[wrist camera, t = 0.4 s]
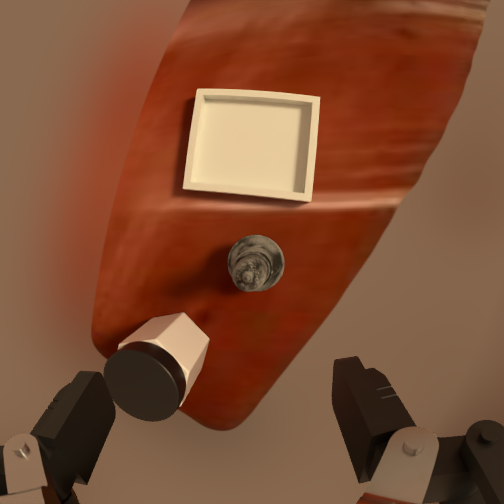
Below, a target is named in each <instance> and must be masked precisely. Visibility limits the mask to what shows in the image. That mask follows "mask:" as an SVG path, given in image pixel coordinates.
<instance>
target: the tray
mask: <svg viewBox="0 0 504 504" xmlns="http://www.w3.org/2000/svg"><path fill="white" fill-rule="evenodd" d="M319 106H320V97H315V96H308V95H299V94H290V93H280V92H268V91H254V90H235V89H197V93H196V99H195V105H194V111H193V117H192V124H191V130H190V137H189V144H188V152H187V159H186V167H185V175H184V183H183V189H185V190H192V191H204V192H216V193H227V194H237V195H247V196H257V197H266V198H275V199H284V200H292V201H301V202H309V203H310V202H311V198H312V188H313V178H314V168H315V157H316V146H317V134H318V121H319Z"/></svg>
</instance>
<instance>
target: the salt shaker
mask: <svg viewBox="0 0 504 504" xmlns="http://www.w3.org/2000/svg"><path fill="white" fill-rule="evenodd" d="M228 270H229V274H230V275H231V277H232V279H233V282H234V284H235V285H236V286H237V287H238V288H239V289H240V290H242V291H246V292H251V291H263V290H267V289H268V288H270V287H272V286H274V285H275V284H276V283H277V282H278V281H279V279H280V277H281V276H282V273H283V270H284V257H283V253H282V251H281V249H280V248H279V246H278V245H277V244H276V243H275V242H274V241H273V240H271V239H269V238H268V237H265V236H262V235H250V236H246V237H244V238H242V239H240V240H238V241H237V242H236V243H235V244H234V245H233V247H232V249H231V250H230V252H229V256H228Z"/></svg>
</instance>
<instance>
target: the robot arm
mask: <svg viewBox="0 0 504 504" xmlns="http://www.w3.org/2000/svg"><path fill="white" fill-rule="evenodd" d="M332 405H333V409H334V413H335V415H336V419H337V421H338V424H339V427H340V430H341V433H342V436H343V438H344V441H345V444H346V447H347V450H348V453H349V456H350V459H351V462H352V465H353V468H354V471H355V474H356V476H357V479H358V482H359V483H364V482H367V481H370V483H369V485H368V487H367V489H366V491H365V493H364V494H363V496H362V497H360V499H359V500H358V502H357V503H356V504H422V503H423V504H424V503H434V502H439V504H504V427H503V426H502V425H501V424H499V423H497V422H495V421H492V420H482V421H478V422H476V423H474V424H473V425H471V427H470V428H469V429H468V431H467V433H466V435H463V436H455V437H445V438H439V437H436V436H435V435H434V433H432V432H431V431H429V430H428V429H425V428H422V427H417V426H416V425H415V423H414V421H413V420H412V418H411V416H410V415H409V413H408V411H407V410H406V408H405V407H404V405H403V403H402V402H401V400H400V398H399V397H398V396H397V395H396V392H395V391H394V389H393V388H392V387H391V384H390V383H389V381H388V379H387V378H386V376H385V375H384V374H382V373H381V372H379V371H378V370H376V369H375V368H369V369H365V368H364V366H363V365H362V363H361V361H360V359H359V358H358V357H357V356H354V357H349V358H342V359H336V360H335V361H334V367H333V383H332ZM115 412H116V411H115V405H114V403H113V400H112V397H111V395H110V393H109V390H108V388H107V385H106V383H105V380H104V378H103V376H102V374H101V373H100V372H92V371H80V372H79V373H78V374H77V375H76V377H75V378H74V379H73V381H72V382H71V383H69V384H68V385H66V386H65V387H64V388H62V389H61V390H60V391H59V392H58V393H57V395H56V396H55V398H54V399H53V402H51V403H50V405H49V406H48V409H46V410H45V412H44V414H43V415H42V417H41V418H40V419H39V421H38V422H37V424H36V425H35V427H34V428H33V430H32V431H31V433H30V434H19V435H16V436H14V437H12V438H11V439H9V440H8V441H7V443H6V444H5V446H0V504H80V503H79V500H78V498H77V495H76V493H75V491H74V489H73V488H72V487H73V484H74V482H75V483H79V484H84V485H87V484H88V481H89V479H90V477H91V474H92V472H93V469H94V467H95V465H96V462H97V460H98V457H99V455H100V453H101V450H102V448H103V446H104V443H105V441H106V438H107V436H108V434H109V432H110V429H111V427H112V425H113V423H114V420H115V414H116V413H115Z"/></svg>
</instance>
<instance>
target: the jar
mask: <svg viewBox="0 0 504 504" xmlns="http://www.w3.org/2000/svg"><path fill="white" fill-rule="evenodd" d="M208 343H209V338H208V337H207V336H206V335H205V334H204V333H203V332H202V331H201V330H200V329H199V327H198V326H197V325H196V324H195V323H194V322H193V321H192V320H191V319H190V318H189V317H188V316H187V315H186V314H185V313H183V312H182V313H177V314H172V315H166V316H161V317H155V318H152V319H150V320H149V321H148V322H146V323H145V324H144V325H143V326H141V327H140V328H139V329H138V330H136V331H135V332H134V333H132V334H131V335H130V336H129V337H127V338H126V339H125V340H124V341H122V342H121V343H120V344H119V345H118V351H117V352H115V353H114V354H113V355H112V356H111V357H110V358H109V359H108V360H107V362H106V364H105V367H104V380H105V383H106V385H107V388H108V390H109V393H110V395H111V397H112V399H113V401H114V402H115V403H116V404H117V405H118V406H119V407H120V408H121V409H122V410H123V411H125V412H126V413H128V414H129V415H131V416H133V417H135V418H137V419H140V420H144V421H152V422H153V421H161V420H165V419H167V418H169V417H170V416H171V415H173V414H174V412H175V411H176V410H177V409H178V407H179V406H181V405H182V404H183V402H184V400H185V398H186V396H187V394H188V393H189V391H190V389H191V387H192V385H193V383H194V382H195V380H196V378H197V376H198V374H199V372H200V371H201V369H202V365H203V362H204V358H205V354H206V350H207V347H208Z"/></svg>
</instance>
